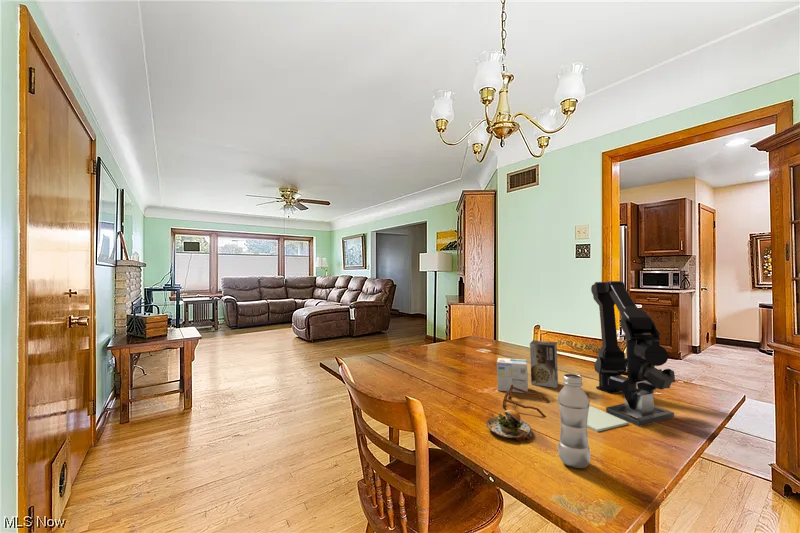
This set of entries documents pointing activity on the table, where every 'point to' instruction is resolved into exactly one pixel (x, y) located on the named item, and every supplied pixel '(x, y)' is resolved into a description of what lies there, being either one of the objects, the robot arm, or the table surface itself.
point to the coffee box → (544, 363)
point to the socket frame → (659, 416)
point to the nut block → (641, 405)
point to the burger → (510, 426)
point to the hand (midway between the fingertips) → (639, 408)
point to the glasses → (520, 404)
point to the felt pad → (602, 420)
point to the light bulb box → (512, 374)
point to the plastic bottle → (573, 423)
